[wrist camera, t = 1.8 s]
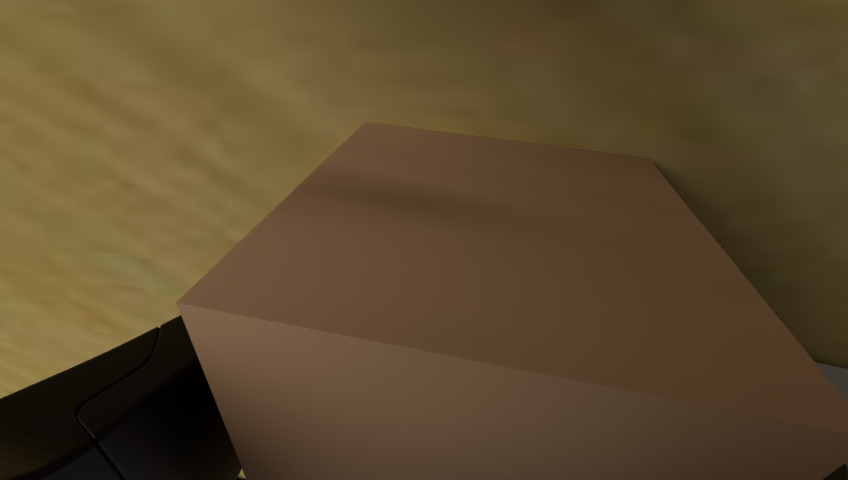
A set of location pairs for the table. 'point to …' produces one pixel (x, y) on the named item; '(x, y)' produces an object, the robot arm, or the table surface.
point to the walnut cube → (501, 327)
